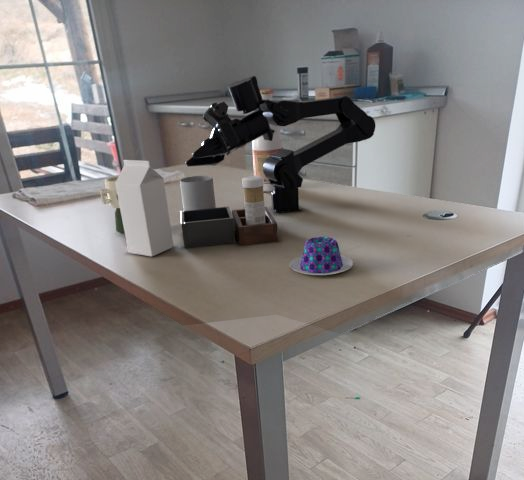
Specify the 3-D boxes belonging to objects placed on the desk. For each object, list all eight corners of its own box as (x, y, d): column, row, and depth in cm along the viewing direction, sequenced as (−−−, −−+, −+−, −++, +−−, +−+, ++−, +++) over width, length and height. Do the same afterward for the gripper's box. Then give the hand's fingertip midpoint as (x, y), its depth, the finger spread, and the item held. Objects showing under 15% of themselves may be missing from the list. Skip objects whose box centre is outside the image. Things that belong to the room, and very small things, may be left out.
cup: (211, 222, 133) (206, 182, 128) (180, 222, 134) (175, 182, 130) (220, 213, 140) (216, 175, 135) (191, 214, 142) (186, 176, 137)
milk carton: (152, 257, 111) (136, 164, 102) (128, 253, 114) (110, 162, 105) (174, 247, 116) (160, 157, 107) (150, 244, 119) (135, 157, 110)
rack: (267, 222, 129) (266, 206, 127) (278, 241, 115) (277, 223, 113) (233, 226, 128) (231, 210, 126) (240, 245, 114) (238, 227, 112)
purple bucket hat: (329, 283, 92) (329, 255, 89) (277, 271, 99) (275, 244, 96) (365, 263, 99) (366, 236, 97) (314, 253, 107) (313, 228, 104)
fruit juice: (249, 188, 166) (242, 90, 152) (275, 184, 169) (270, 88, 156) (264, 193, 158) (258, 91, 145) (290, 188, 162) (287, 88, 148)
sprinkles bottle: (264, 234, 121) (260, 174, 114) (268, 239, 117) (265, 177, 110) (244, 236, 120) (240, 176, 114) (248, 241, 116) (244, 179, 110)
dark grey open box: (230, 229, 126) (228, 206, 124) (235, 242, 116) (233, 218, 114) (183, 233, 125) (180, 210, 122) (184, 248, 115) (181, 223, 112)
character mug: (116, 240, 124) (104, 184, 118) (103, 234, 129) (91, 180, 122) (156, 229, 130) (147, 176, 123) (142, 225, 135) (133, 172, 128)
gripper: (219, 110, 132) (166, 138, 129) (238, 84, 115) (177, 116, 112) (241, 151, 135) (189, 179, 132) (262, 132, 118) (204, 164, 115)
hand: (189, 160), depth 123 cm, fingers open, 9 cm apart
